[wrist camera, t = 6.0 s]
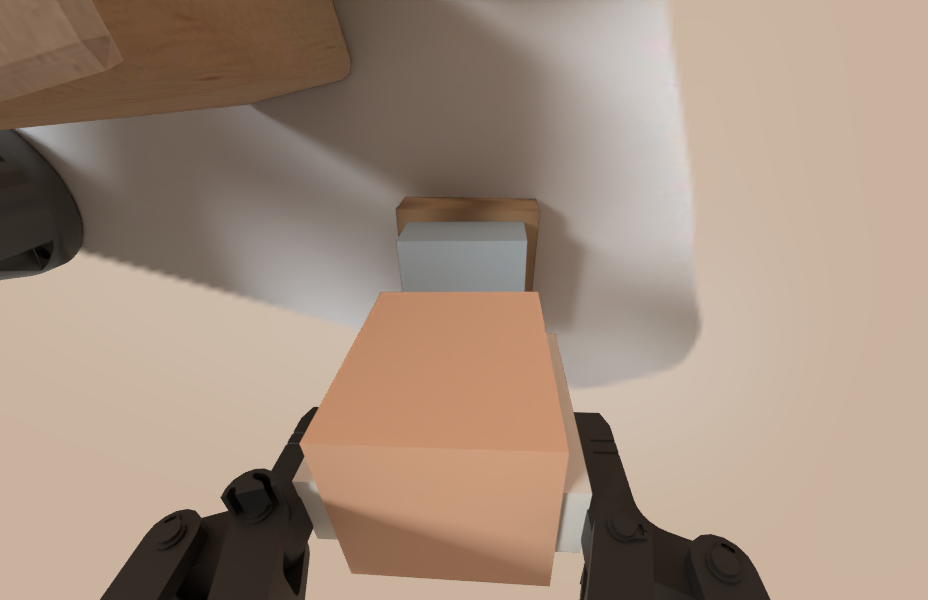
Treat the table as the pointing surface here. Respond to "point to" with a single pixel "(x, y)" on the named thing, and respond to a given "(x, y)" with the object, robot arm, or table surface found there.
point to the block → (159, 56)
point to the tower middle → (463, 256)
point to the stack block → (444, 440)
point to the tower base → (475, 217)
